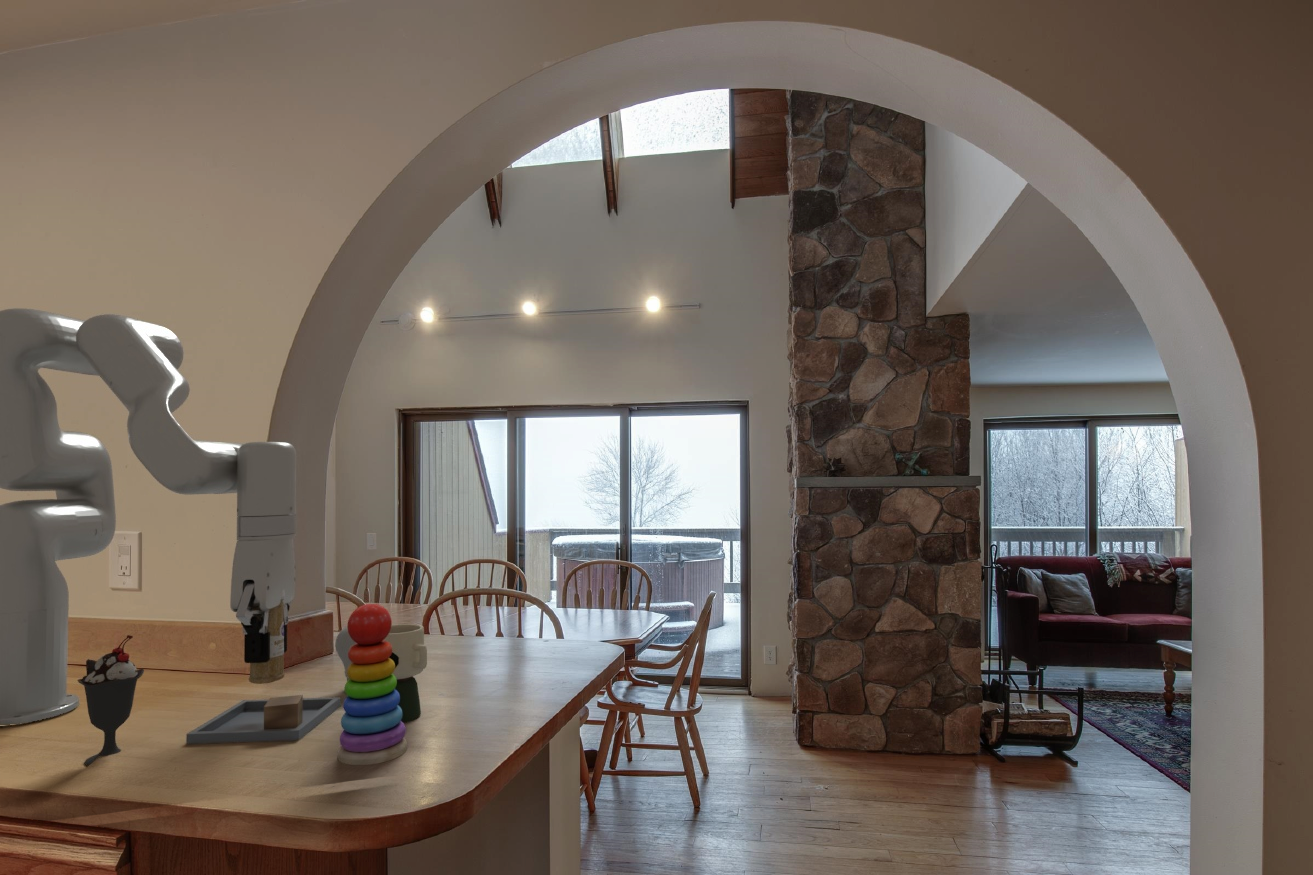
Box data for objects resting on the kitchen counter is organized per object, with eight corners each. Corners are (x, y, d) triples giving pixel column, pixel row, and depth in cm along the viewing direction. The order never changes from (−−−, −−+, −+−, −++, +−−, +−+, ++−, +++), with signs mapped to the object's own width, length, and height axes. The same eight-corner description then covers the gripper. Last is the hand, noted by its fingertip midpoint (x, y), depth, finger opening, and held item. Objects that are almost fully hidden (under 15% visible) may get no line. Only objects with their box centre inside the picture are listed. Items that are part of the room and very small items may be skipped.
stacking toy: (373, 742, 94) (374, 596, 95) (421, 752, 91) (421, 600, 92) (322, 765, 87) (323, 607, 88) (372, 776, 84) (373, 611, 85)
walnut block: (263, 738, 94) (263, 706, 94) (269, 728, 98) (270, 697, 98) (297, 734, 95) (298, 703, 96) (302, 724, 99) (302, 694, 99)
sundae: (147, 757, 90) (150, 635, 91) (79, 774, 85) (82, 644, 86) (137, 744, 95) (140, 627, 96) (72, 758, 90) (75, 636, 91)
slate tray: (186, 749, 93) (186, 733, 93) (243, 713, 107) (243, 699, 107) (298, 746, 93) (298, 730, 93) (340, 710, 107) (340, 697, 107)
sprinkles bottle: (286, 680, 102) (287, 584, 103) (249, 686, 100) (250, 587, 101) (282, 673, 106) (282, 580, 107) (246, 679, 104) (247, 584, 104)
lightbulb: (340, 701, 112) (340, 628, 112) (331, 692, 117) (331, 622, 117) (381, 693, 116) (381, 623, 116) (370, 685, 120) (370, 617, 121)
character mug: (349, 724, 101) (349, 630, 102) (389, 709, 107) (390, 620, 108) (405, 737, 96) (405, 637, 97) (444, 720, 102) (444, 627, 103)
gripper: (268, 524, 112) (267, 644, 111) (206, 533, 96) (205, 674, 95) (318, 523, 113) (317, 643, 112) (265, 532, 96) (264, 672, 95)
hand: (266, 656), depth 103 cm, fingers closed on sprinkles bottle, 4 cm apart
